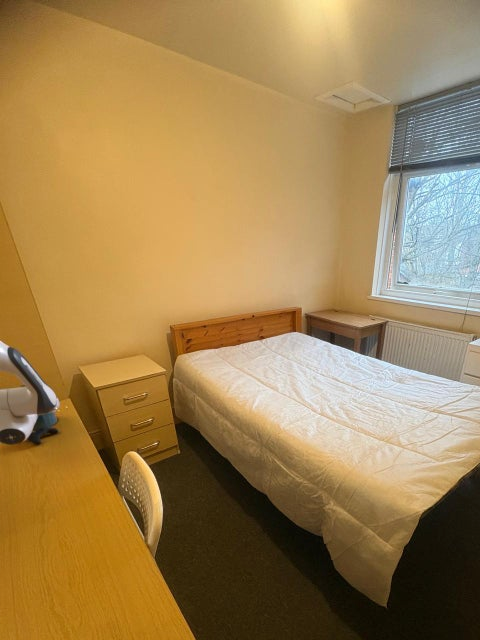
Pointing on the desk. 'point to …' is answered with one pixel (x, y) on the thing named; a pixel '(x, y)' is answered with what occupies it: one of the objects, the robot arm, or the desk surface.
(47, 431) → the gaming controller
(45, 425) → the bowl
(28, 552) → the desk surface
